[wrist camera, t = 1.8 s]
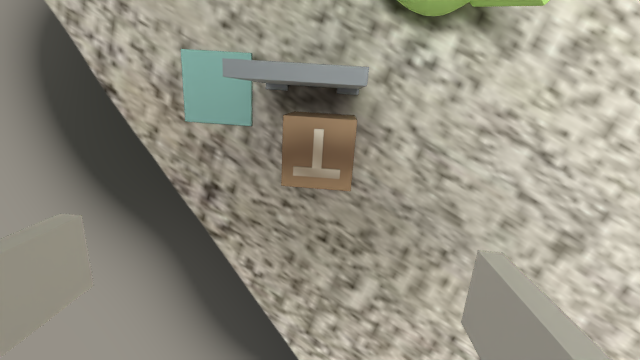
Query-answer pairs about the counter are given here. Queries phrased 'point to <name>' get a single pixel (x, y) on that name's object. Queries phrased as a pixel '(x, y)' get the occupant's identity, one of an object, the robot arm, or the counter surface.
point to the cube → (318, 150)
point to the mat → (214, 89)
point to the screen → (297, 74)
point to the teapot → (460, 5)
